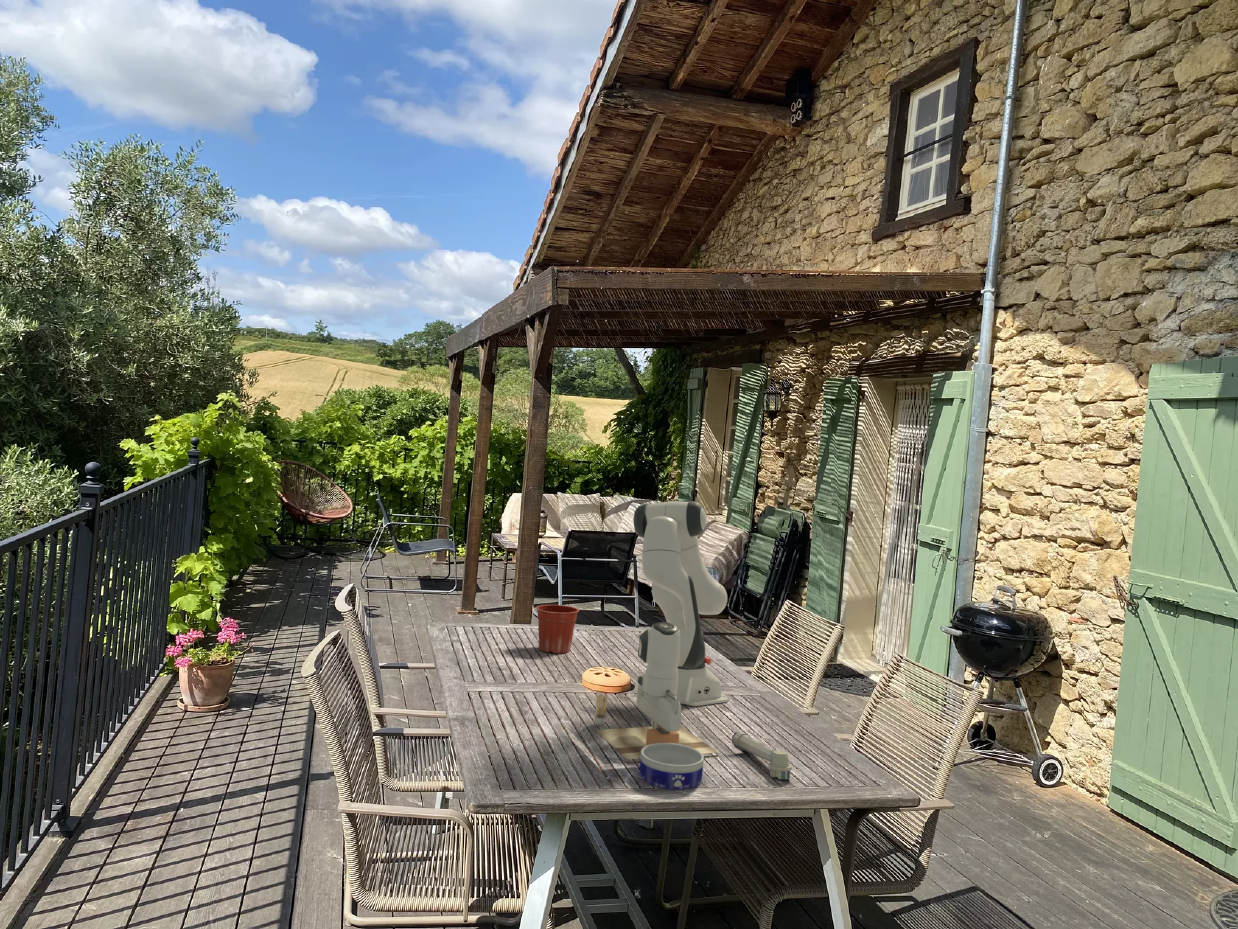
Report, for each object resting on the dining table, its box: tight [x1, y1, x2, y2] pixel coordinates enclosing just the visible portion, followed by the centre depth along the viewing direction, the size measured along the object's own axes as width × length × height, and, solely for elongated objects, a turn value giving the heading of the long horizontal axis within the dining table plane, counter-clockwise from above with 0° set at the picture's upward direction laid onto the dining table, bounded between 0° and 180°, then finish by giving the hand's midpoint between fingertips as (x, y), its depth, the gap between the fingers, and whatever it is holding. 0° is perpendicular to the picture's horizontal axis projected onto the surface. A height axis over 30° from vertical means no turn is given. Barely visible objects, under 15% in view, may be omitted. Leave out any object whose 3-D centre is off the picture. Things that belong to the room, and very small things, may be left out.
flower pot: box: [535, 604, 580, 654], centre depth 321 cm, size 16×16×16 cm
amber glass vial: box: [594, 694, 608, 728], centre depth 233 cm, size 3×3×9 cm
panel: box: [595, 725, 719, 765], centre depth 223 cm, size 26×22×1 cm
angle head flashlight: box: [731, 731, 793, 780], centre depth 216 cm, size 5×7×25 cm
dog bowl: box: [639, 743, 705, 791], centre depth 201 cm, size 15×15×6 cm
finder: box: [646, 728, 679, 745], centre depth 219 cm, size 7×5×4 cm
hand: (656, 736), depth 222 cm, fingers closed
